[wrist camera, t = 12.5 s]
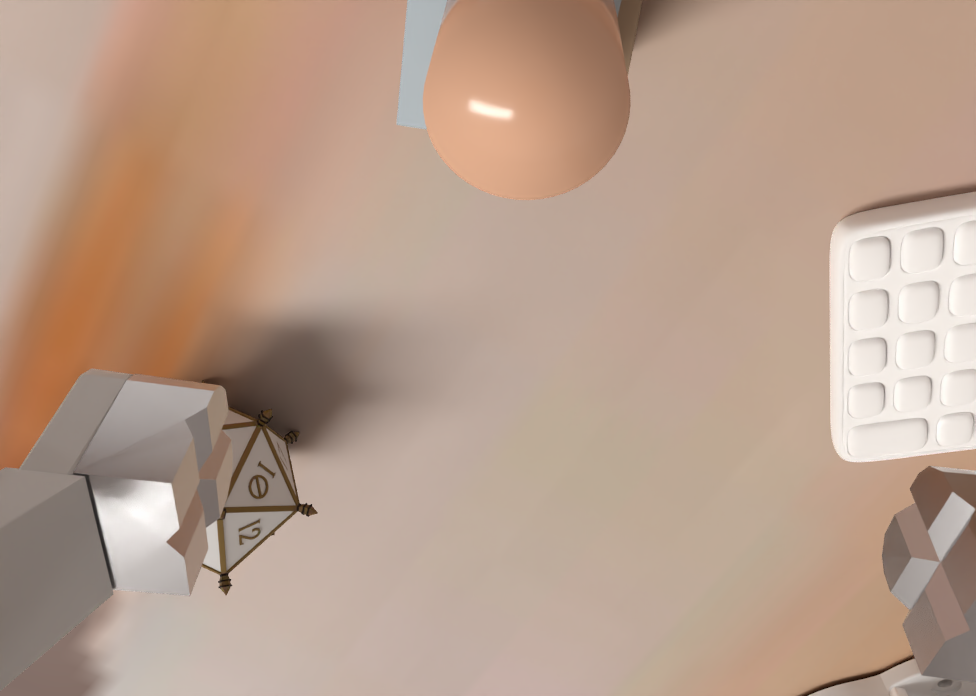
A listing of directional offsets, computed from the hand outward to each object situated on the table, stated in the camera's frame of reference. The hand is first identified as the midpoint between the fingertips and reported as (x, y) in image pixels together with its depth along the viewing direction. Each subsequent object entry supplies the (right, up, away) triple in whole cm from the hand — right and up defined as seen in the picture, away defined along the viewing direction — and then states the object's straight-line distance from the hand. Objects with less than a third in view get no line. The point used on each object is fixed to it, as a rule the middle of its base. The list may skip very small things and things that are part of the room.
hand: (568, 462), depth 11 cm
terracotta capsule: (0, +10, +13) cm, 16 cm away
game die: (-13, -2, +34) cm, 36 cm away
